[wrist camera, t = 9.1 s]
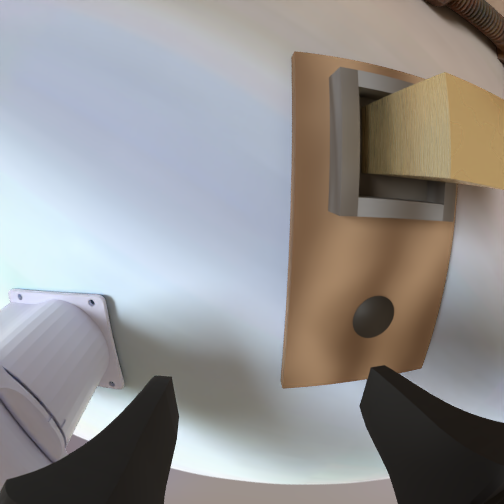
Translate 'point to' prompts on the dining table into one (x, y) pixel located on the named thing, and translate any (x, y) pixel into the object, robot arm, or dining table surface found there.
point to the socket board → (357, 235)
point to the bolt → (479, 19)
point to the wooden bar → (436, 133)
